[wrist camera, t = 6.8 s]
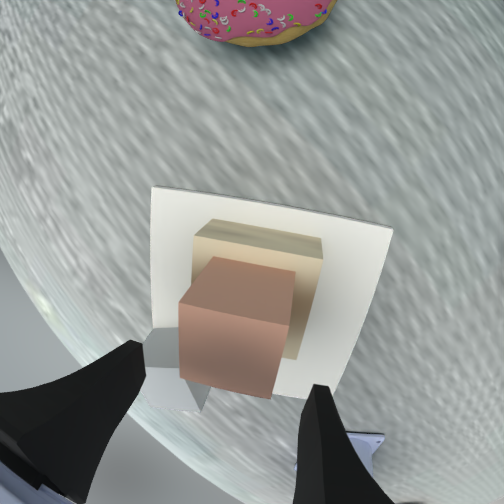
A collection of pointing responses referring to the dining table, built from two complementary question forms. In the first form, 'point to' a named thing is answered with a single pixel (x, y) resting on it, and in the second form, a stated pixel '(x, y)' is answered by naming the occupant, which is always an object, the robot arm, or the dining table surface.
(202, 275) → the terracotta block
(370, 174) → the dining table surface
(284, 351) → the maple block
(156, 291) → the board
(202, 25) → the cupcake
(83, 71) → the dining table surface
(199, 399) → the grey block
